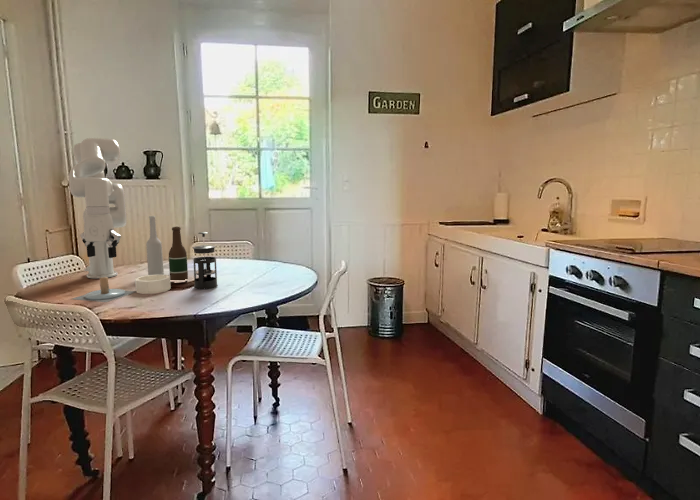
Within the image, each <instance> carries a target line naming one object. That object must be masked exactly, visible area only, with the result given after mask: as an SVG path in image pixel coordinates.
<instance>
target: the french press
mask: <svg viewBox="0 0 700 500" xmlns="http://www.w3.org/2000/svg"><path fill="white" fill-rule="evenodd" d="M206 234H209V232H207V231H200V232H198V235H202V239H203V245H196V246H193V247H192V249H193V253H194V254H197V255H198V254H199V255H200V254H201V255H202V254H203V256H201V257H200V256H199V257H198V256H197V257H195V258H193V259H192V260H193V278H194V286H193V287H194V289H196V290H212V289H216V288H218V286H219V285H218V277H217V276H218V274H217V273H218V272H217V257H215V256H206V254H212V253H215V252H216V250H215V248H216V246H215V245H207V244H205V236H206ZM213 263H214V269H211V264H213ZM196 264H197V269H198V270H197V269H196ZM197 275H198V277H197ZM211 275H214V276H211Z"/></svg>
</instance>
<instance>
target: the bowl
mask: <svg viewBox="0 0 700 500" xmlns="http://www.w3.org/2000/svg"><path fill="white" fill-rule="evenodd" d="M134 284H135V291H136V293H137V294H141V295H155V294H160V293H165V292H168V291H169V290H170V289H172V288H171V287H172V286H171V285H172V283H171V282H170V274H169V275H168V274H164V275H159V274H156V275H148V274H147V275H142V276H139V277H135V278H134Z"/></svg>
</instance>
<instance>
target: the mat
mask: <svg viewBox="0 0 700 500" xmlns="http://www.w3.org/2000/svg"><path fill="white" fill-rule="evenodd" d="M135 293H137V292H136V290H125V294H124V295H122V296H120V297H116V298H111V299H103V300H89V299H86V298H85V294H83V295H79V296H77V297H74V298H73V297H72V298H71V300H78V301H89V302H98V303H99V302H100V303H109V302H112V301H114V300H117V299H121V298H122V297H123V298H124V297H126V296H129V295H132V294H135Z"/></svg>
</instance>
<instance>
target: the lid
mask: <svg viewBox="0 0 700 500" xmlns="http://www.w3.org/2000/svg"><path fill="white" fill-rule="evenodd" d="M99 286H100V289H97V290H94V291H93V290H92V291H90V292H87V293H84V295H85V298H86V299H89V300H103V299H111V298H116V297H120V296H122V295H124V294H125V291H126V290H125V289H122V288H110V287H109V277H101V278H99Z"/></svg>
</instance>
